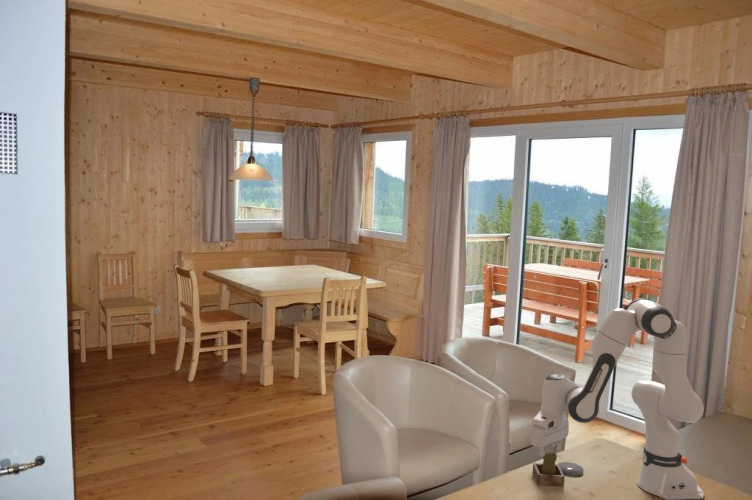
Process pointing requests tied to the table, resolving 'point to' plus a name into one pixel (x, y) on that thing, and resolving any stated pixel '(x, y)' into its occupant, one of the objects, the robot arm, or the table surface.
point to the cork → (549, 463)
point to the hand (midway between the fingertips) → (548, 452)
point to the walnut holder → (548, 476)
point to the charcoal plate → (571, 469)
